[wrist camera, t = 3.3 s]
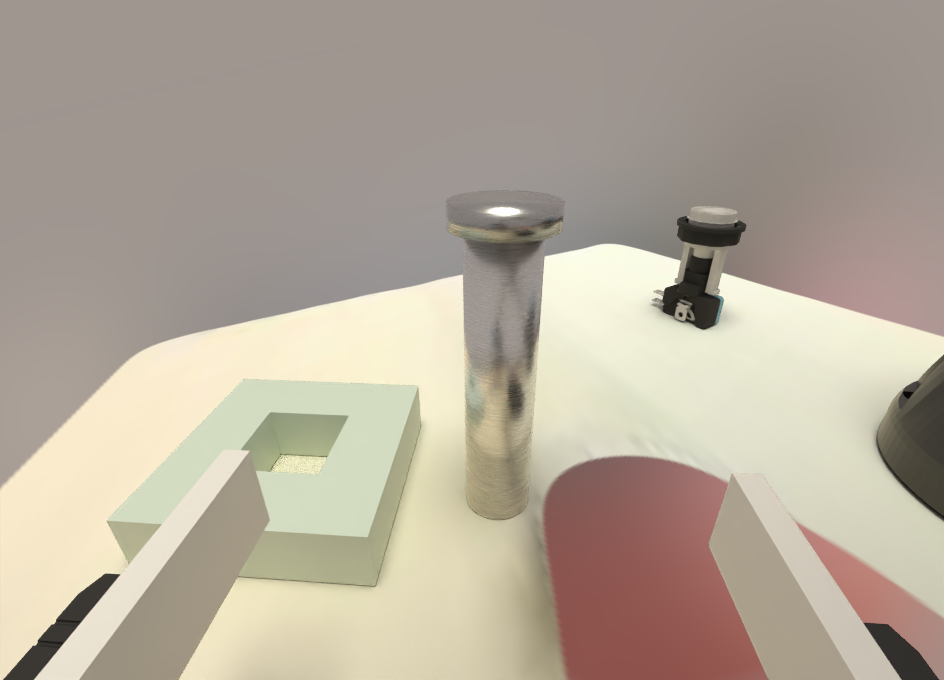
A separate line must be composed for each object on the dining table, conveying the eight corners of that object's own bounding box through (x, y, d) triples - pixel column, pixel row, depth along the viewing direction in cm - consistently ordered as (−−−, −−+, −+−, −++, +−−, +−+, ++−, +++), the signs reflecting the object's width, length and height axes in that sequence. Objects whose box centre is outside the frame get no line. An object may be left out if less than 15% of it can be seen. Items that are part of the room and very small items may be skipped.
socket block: (421, 425, 29) (418, 385, 28) (375, 586, 20) (367, 537, 18) (254, 418, 30) (244, 378, 29) (131, 568, 20) (106, 520, 19)
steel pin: (537, 467, 26) (559, 190, 19) (541, 532, 22) (571, 213, 15) (459, 463, 26) (453, 190, 19) (450, 526, 22) (437, 212, 15)
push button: (636, 310, 45) (653, 206, 41) (670, 298, 48) (690, 199, 43) (698, 335, 40) (726, 220, 36) (732, 321, 43) (762, 212, 38)
